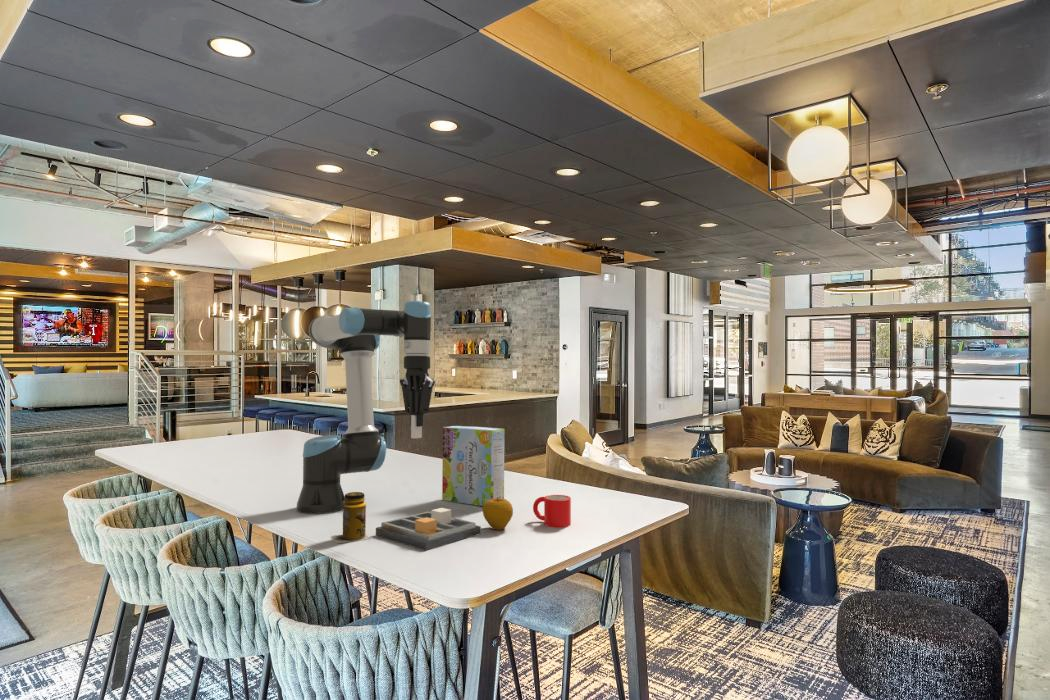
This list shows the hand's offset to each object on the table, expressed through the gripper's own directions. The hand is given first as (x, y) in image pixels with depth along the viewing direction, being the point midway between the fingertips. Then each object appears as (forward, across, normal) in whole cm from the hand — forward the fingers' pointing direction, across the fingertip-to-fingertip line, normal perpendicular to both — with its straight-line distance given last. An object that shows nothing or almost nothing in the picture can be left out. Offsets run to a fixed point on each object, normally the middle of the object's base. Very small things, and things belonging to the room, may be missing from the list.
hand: (416, 437), depth 171 cm
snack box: (+27, -13, +36) cm, 47 cm away
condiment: (+27, -8, -16) cm, 32 cm away
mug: (+27, +24, +32) cm, 48 cm away
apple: (+27, +16, +17) cm, 35 cm away
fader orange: (+24, +10, -5) cm, 27 cm away
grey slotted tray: (+26, +6, 0) cm, 27 cm away
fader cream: (+24, +5, +5) cm, 25 cm away
